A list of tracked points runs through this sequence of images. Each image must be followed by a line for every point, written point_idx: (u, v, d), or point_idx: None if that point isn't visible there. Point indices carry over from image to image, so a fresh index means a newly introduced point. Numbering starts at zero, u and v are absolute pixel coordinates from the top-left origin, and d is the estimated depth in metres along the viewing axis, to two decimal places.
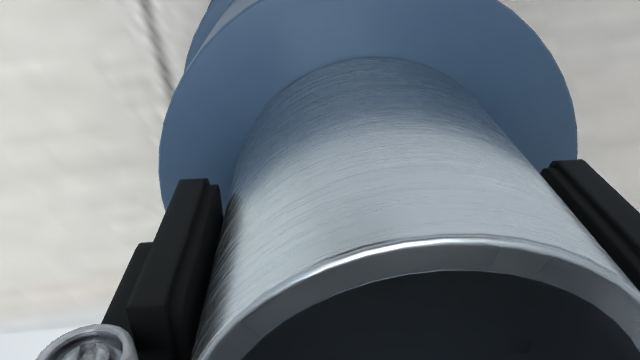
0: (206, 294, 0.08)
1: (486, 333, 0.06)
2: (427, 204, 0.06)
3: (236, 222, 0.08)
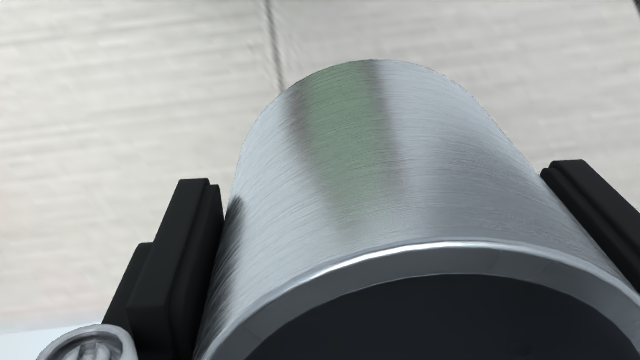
0: (207, 296, 0.08)
1: (486, 336, 0.06)
2: (428, 207, 0.06)
3: (236, 225, 0.08)
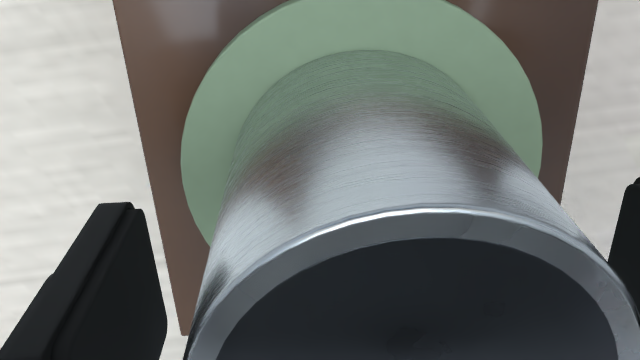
0: (205, 268, 0.09)
1: (463, 297, 0.07)
2: (410, 179, 0.07)
3: (232, 202, 0.09)
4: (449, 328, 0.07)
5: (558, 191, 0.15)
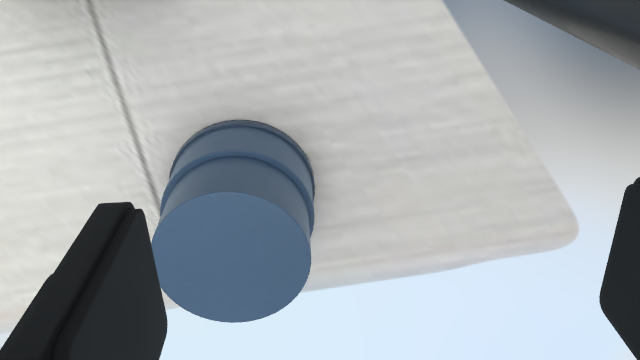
0: None
1: None
2: None
3: None
4: None
5: None
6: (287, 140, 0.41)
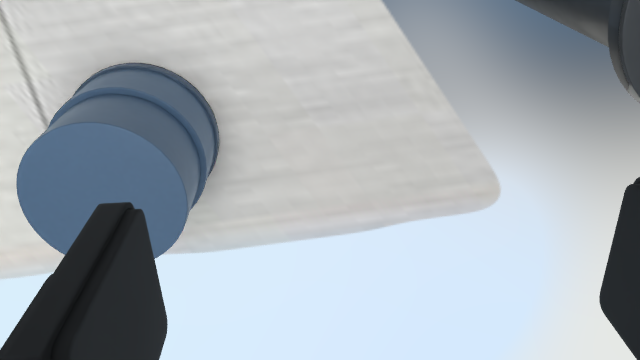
0: None
1: None
2: None
3: None
4: None
5: None
6: (185, 85, 0.40)
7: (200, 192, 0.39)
